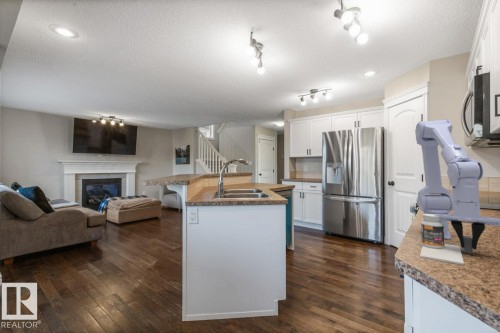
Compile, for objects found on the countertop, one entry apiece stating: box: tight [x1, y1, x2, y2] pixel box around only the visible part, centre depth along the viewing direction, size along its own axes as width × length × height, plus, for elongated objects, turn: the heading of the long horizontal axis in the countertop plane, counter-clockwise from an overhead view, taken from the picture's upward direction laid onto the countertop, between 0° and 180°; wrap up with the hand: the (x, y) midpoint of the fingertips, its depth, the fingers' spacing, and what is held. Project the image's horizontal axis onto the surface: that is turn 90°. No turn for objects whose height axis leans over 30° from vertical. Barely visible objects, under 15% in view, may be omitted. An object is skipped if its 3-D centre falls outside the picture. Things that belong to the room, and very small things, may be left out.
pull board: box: [419, 234, 474, 266], centre depth 66 cm, size 18×12×4 cm, turn 139°
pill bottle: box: [420, 213, 446, 248], centre depth 71 cm, size 6×6×10 cm
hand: (468, 247), depth 66 cm, fingers closed on pull board, 2 cm apart
